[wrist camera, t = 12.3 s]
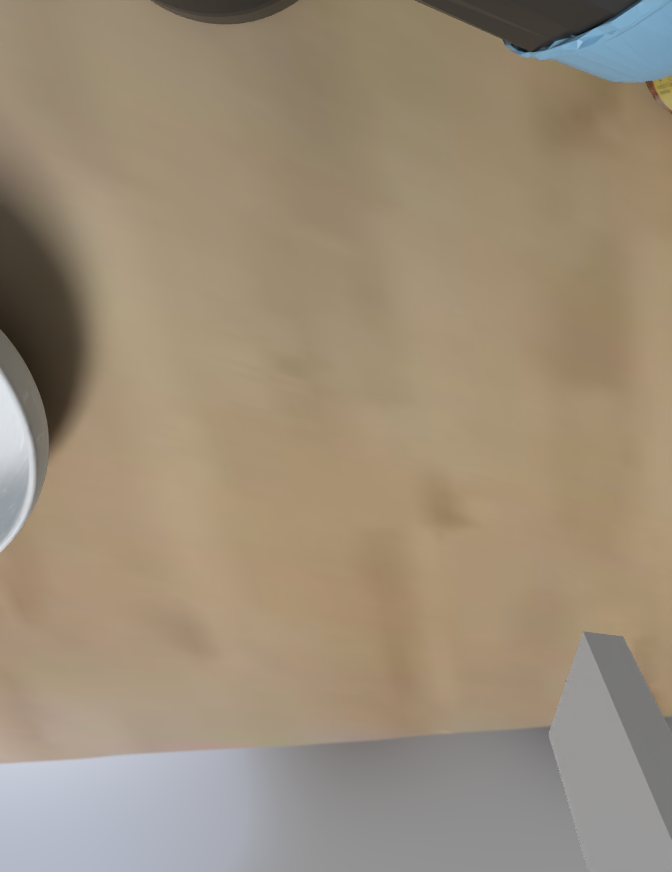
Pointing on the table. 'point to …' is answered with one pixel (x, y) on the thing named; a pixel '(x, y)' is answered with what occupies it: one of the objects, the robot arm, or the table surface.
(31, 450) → the serving bowl
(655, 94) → the sauce bottle
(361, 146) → the table surface
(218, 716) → the table surface
